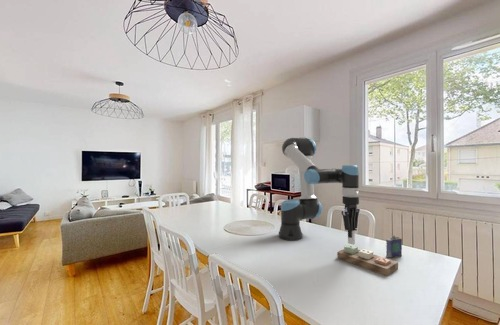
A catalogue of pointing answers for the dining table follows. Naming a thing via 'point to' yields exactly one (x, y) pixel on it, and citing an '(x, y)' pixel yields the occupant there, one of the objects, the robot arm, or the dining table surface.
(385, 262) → the three-pip tile
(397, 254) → the flask
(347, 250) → the tile
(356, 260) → the board
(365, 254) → the tile
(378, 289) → the dining table surface
